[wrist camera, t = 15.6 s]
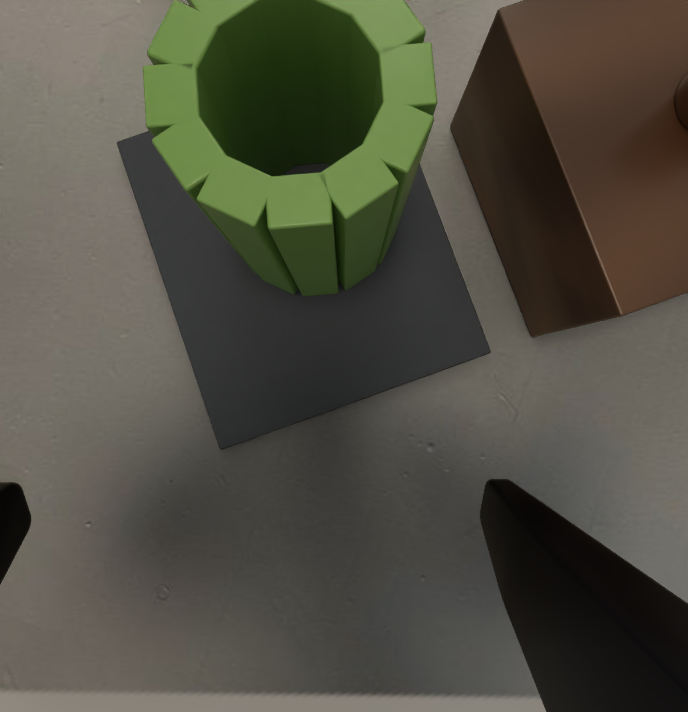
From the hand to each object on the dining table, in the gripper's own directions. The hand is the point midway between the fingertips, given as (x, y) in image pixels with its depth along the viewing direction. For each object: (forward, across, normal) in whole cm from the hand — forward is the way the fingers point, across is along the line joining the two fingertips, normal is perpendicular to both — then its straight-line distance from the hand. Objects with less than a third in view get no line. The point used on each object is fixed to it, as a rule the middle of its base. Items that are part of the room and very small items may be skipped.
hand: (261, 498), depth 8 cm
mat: (+12, 0, -3) cm, 13 cm away
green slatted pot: (+12, -1, -4) cm, 13 cm away
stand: (+13, -13, -6) cm, 19 cm away
